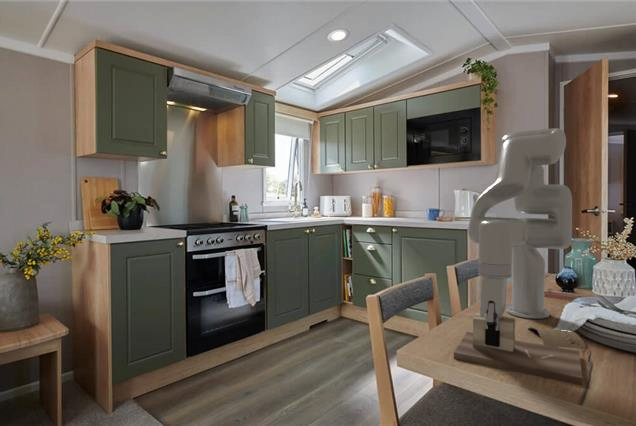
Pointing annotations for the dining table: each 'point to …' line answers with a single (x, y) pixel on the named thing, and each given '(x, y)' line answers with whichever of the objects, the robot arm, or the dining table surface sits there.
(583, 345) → the clay tablet
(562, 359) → the walnut board
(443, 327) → the dining table surface
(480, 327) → the cream carton
